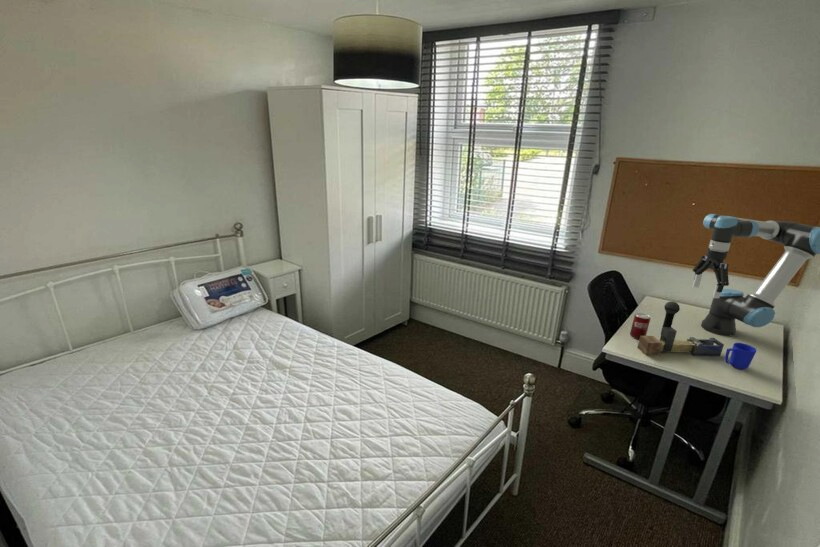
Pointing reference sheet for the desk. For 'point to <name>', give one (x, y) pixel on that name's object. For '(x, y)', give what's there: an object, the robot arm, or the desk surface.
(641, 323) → the soda can
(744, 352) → the mug
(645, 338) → the socket
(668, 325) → the microphone
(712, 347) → the sleeve
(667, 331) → the hammer
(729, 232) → the robot arm
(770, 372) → the desk surface
